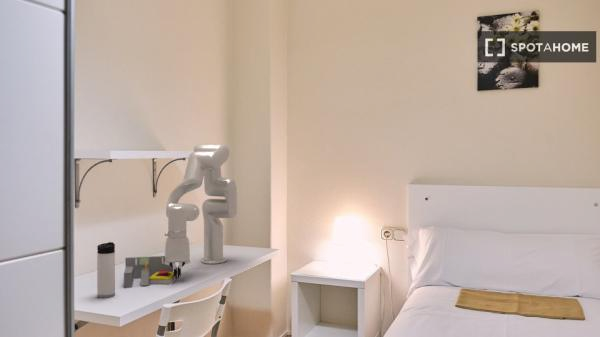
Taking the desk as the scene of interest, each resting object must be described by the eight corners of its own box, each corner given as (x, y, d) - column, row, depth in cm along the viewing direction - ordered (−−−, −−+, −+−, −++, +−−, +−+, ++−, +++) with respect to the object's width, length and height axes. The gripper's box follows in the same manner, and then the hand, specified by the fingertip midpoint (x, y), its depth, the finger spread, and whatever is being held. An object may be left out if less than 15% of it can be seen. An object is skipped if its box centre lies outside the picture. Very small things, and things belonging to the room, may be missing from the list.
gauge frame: (125, 278, 214) (125, 257, 214) (173, 275, 220) (173, 255, 219) (122, 287, 199) (122, 265, 199) (173, 284, 205) (173, 263, 204)
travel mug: (118, 293, 191) (118, 242, 190) (108, 298, 185) (108, 245, 184) (104, 292, 192) (104, 241, 192) (93, 297, 186) (93, 244, 185)
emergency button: (178, 268, 218) (168, 277, 203) (178, 278, 218) (168, 287, 203) (157, 268, 218) (146, 276, 203) (157, 277, 218) (146, 287, 203)
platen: (142, 278, 212) (142, 261, 212) (149, 278, 213) (149, 260, 213) (141, 285, 202) (141, 267, 202) (148, 285, 203) (148, 266, 202)
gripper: (159, 236, 204) (158, 280, 205) (195, 235, 208) (195, 278, 209) (159, 233, 211) (159, 276, 212) (194, 232, 215) (194, 274, 216)
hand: (177, 277), depth 210 cm, fingers closed
